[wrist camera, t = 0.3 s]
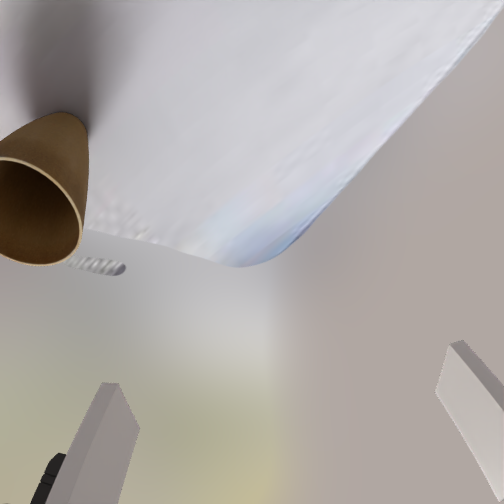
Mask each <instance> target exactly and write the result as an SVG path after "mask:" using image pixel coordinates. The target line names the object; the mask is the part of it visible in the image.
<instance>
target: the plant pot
mask: <svg viewBox="0 0 504 504" xmlns="http://www.w3.org/2000/svg"><path fill="white" fill-rule="evenodd" d="M88 176H89V149H88V138H87V132H86V129H85V127H84V125H83V123H82V122H81V121H80V120H79V119H78V118H77V117H75V116H74V115H72V114H69V113H65V112H58V113H54V114H50V115H47V116H44V117H41V118H39V119H36V120H34V121H32V122H30V123H28V124H26V125H24V126H22V127H21V128H19V129H17V130H16V131H14V132H13V133H11V134H10V135H8V136H7V137H5V138H4V139H3V140H1V141H0V255H2V256H3V257H5V258H8V259H10V260H12V261H15V262H18V263H21V264H25V265H31V266H49V265H54V264H58V263H61V262H63V261H65V260H67V259H68V258H70V257H71V256H72V255H73V254H74V253H75V252H76V250H77V249H78V247H79V245H80V242H81V239H82V232H83V225H84V217H85V209H86V201H87V191H88Z"/></svg>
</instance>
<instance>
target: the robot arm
mask: <svg viewBox="0 0 504 504" xmlns="http://www.w3.org/2000/svg"><path fill="white" fill-rule="evenodd" d="M435 393H436V395H437V396H438V398H439V400H440V401H441V403H442V404H443V406H444V407H445V409H446V410H447V412H448V414H449V415H450V417H451V419H452V420H453V422H454V423H455V425H456V427H457V428H458V430H459V432H460V433H461V435H462V437H463V438H464V440H465V442H466V443H467V445H468V447H469V449H470V450H471V452H472V454H473V455H474V457H475V459H476V461H477V462H478V464H479V466H480V468H481V470H482V471H483V473H484V475H485V477H486V479H487V481H488V482H489V484H490V486H491V488H492V490H493V492H494V493H495V496H496V498H497V499H498V501H499V503H500V502H501V501H503V500H504V386H503V384H502V383H501V382H500V381H499V380H498V378H497V377H496V376H495V375H494V374H493V373H492V372H491V370H490V369H489V368H488V367H487V366H486V365H485V364H484V362H483V361H482V360H481V359H480V358H479V357H478V356H477V355H476V354H475V352H474V351H473V350H472V349H471V348H470V347H469V346H468V345H467V344H466V343H465V342H464V340H461V341H458V342H454V343H451V344H449V346H448V350H447V354H446V358H445V361H444V365H443V368H442V371H441V375H440V378H439V381H438V385H437V388H436V391H435ZM139 430H140V427H139V425H138V423H137V421H136V420H135V417H134V415H133V413H132V412H131V409H130V407H129V405H128V403H127V401H126V399H125V397H124V395H123V392H122V390H121V388H120V386H119V384H118V383H101V385H100V387H99V389H98V391H97V393H96V395H95V397H94V399H93V401H92V403H91V405H90V407H89V409H88V411H87V413H86V415H85V417H84V419H83V421H82V423H81V425H80V427H79V429H78V432H77V433H76V435H75V438H74V440H73V442H72V444H71V446H70V448H69V450H68V453H67V455H66V454H62V453H58V454H57V455H55V456H54V458H53V459H51V461H50V462H49V463H48V465H47V468H46V470H45V472H44V473H45V474H44V475H43V476H42V478H41V480H40V481H41V483H39V485H38V487H37V489H36V492H35V494H34V496H33V498H32V501H31V503H30V504H118V500H119V497H120V494H121V490H122V486H123V483H124V479H125V476H126V472H127V469H128V466H129V462H130V459H131V456H132V452H133V449H134V446H135V443H136V440H137V436H138V433H139Z"/></svg>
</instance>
